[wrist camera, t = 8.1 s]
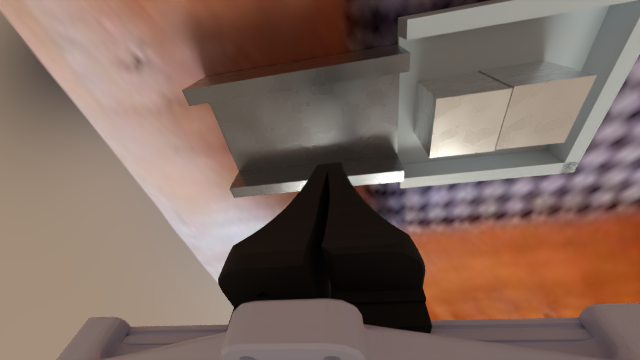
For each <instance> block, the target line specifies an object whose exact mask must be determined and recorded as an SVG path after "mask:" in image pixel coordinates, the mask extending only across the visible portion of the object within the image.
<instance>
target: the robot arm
mask: <svg viewBox="0 0 640 360" xmlns="http://www.w3.org/2000/svg"><path fill="white" fill-rule="evenodd" d="M424 276H425V265H424V262H423V259H422V257H421V255H420V253H419V251H418V249H417V247H416V246H415V244H414V242H413V241H412V239H411V238H410V236H409V235H408V234H407V233H405V232H403V231H402V230H400V229H398V228H397V227H395V226H393V225H392V224H390V223H389V222H388V221H386V220H385V219H384V218H383V217H381V216H380V215H379V214H378V213H377V212H375V211H374V210H373V209H372V208H371V207H370V206H369V205H368V204H367V203H366V202H365V201H364V200H363V198H362V197H361V196H360V195H359V194H358V192H357V191H356V190H355V188H354V187H353V185H352V184H351V182H350V180H349V179H348V177H347V175H346V173H345V171H344V168H343V164H342V163H341V162H338V163H329V164H320V165H317V166H316V167H315V169H314V171H313V172H312V174H311V176H310V177H309V179H308V180H307V182H306V183H305V185H304V186H303V188H302V189H301V190H300V192H299V193H298V194H297V196H296V197H295V198H294V199H293V200H292V202H291V203H290V204H289V205H288V206H287V207H286V208H285V209H284V210H283V211H282V212H281V213H280V214H278V215H277V216H276V217H275V218H274V219H273V220H272V221H270V222H269V223H268V224H266V225H265V226H264V227H262V228H261V229H260V230H258V231H257V232H255V233H254V234H252V235H251V236H249V237H247V238H246V239H244V240H242V241H241V242H239V243H237V244H235V245H234V246H233V247H232V249H231V251H230V253H229V255H228V257H227V259H226V262H225V264H224V266H223V269H222V271H221V273H220V276H219V278H218V284H219V286H220V288H221V290H222V292H223V293H224V294H225V296H226V297H227V298H228V300H229V301H230V302H231V304H232V305H233V306H234V309H233V312H232V315H231V318H230V321H229V324H228V325H192V326H145V327H144V326H142V327H130V325H129V324H128V323H127V322H126V321H125V320H122V319H120V318H117V317H92V318H89V319H88V320H87V321H86V323H85V324H84V325H83V326H82V328H81V329H80V330H79V332H78V333H77V334H76V335H75V337H74V338H73V339H72V341H71V342H70V343H69V344H68V346H67V347H66V348H65V349H64V351H63V352H62V353H61V354H60V356H59V357H58V358H57V360H640V303H613V304H596V305H592V306H589V307H587V308H585V309H584V310H583V311H582V312H581V313H580V315H579V317H578V318H539V319H490V320H440V321H431V320H430V317H429V314H428V310H427V307H426V304H425V302H426V297H425V294H424V290H423V283H424Z"/></svg>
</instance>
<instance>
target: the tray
mask: <svg viewBox="0 0 640 360" xmlns="http://www.w3.org/2000/svg"><path fill="white" fill-rule="evenodd" d="M397 44H398V45H400V46H401V47H403V48H404V49H406V50H407V51H409V52H410V71H409V72H405V73H400V80H399V112H398V143H397V155H398V157H399V159H400V162H401V164H402V167H403V169H404V181H401V182H398V184H399V187H400V188H409V187H420V186H430V185H441V184H452V183H463V182H474V181H484V180H495V179H506V178H517V177H528V176H538V175H549V174H560V173H571V172H574V171H575V169H576V167H577V165H578V164H579V162H580V160H581V158H582V156H583V155H584V153H585V151H586V149H587V147H588V146H589V144H590V142H591V140H592V138H593V137H594V135H595V133H596V131H597V130H598V128H599V126H600V124H601V122H602V121H603V119H604V117H605V115H606V113H607V112H608V110H609V108H610V106H611V104H612V103H613V101H614V99H615V97H616V95H617V94H618V92H619V90H620V88H621V86H622V85H623V83H624V81H625V79H626V77H627V76H628V74H629V72H630V70H631V68H632V67H633V65H634V63H635V61H636V60H637V58H638V56H639V54H640V0H489V1H484V2H478V3H473V4H467V5H462V6H457V7H451V8H446V9H441V10H435V11H430V12H424V13H419V14H414V15H408V16H403V17H398V35H397ZM543 60H545V61H548V62H552V63H555V64H559V65H563V66H566V67H570V68H574V69H577V70H581V71H584V72H588V73H592V74H595V75H597V77H596V79H595V81H594V83H593V85H592V87H591V89H590V91H589V93H588V95H587V97H586V99H585V101H584V103H583V105H582V107H581V109H580V111H579V114H578V116H577V118H576V120H575V122H574V124H573V126H572V128H571V130H570V132H569V134H568V136H567V138H566V140H565V142H564V143H554V144H545V145H536V146H527V147H517V148H508V149H499V150H494V151H491V152H481V153H472V154H463V155H454V156H445V157H436V158H429V156H428V155H427V153H426V152H425V150H424V148H423V147H422V145H421V143H420V142H419V140H418V138H417V137H416V135H415V134H414V122H415V108H416V94H417V81H419V80H426V79H432V78H439V77H446V76H452V75H459V74H465V73H472V72H479V70H483V69H490V68H497V67H503V66H510V65H516V64H523V63H530V62H536V61H543Z"/></svg>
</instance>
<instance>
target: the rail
mask: <svg viewBox="0 0 640 360" xmlns="http://www.w3.org/2000/svg"><path fill="white" fill-rule="evenodd" d="M409 71H410V52H409V51H407V50H406V49H404V48H403V47H401V46H400V45H398V44H394V45H388V46H382V47H376V48H371V49H365V50H359V51H353V52H347V53H341V54H336V55H330V56H324V57H318V58H312V59H306V60H300V61H295V62H289V63H283V64H277V65H271V66H265V67H260V68H254V69H248V70H242V71H236V72H230V73H224V74H219V75H213V76H207V77H204V78H203V79H201V80H199V81H197V82H196V83H194V84H192V85H190V86H189V87H187V88H185V89H183V90H182V92H183V94H184V96H185V98H186V100H187V102H188V104H189V106H191V105H198V104H204V103H210V105H211V108H212V110H213V112H214V114H215V117H216V119H217V121H218V124H219V126H220V128H221V131H222V133H223V135H224V138H225V140H226V142H227V144H228V147H229V149H230V151H231V154H232V156H233V158H234V161H235V163H236V165H237V167H238V170H239V173H238V174H237V176H236V178H235V180H234V182H233V183H232V185H231V187H230V190H231V192H232V194H233V196H234V198H235V197H245V196H256V195H266V194H276V193H287V192H297V191H300V190H301V189H302V188H303V186H304V185H305V183H306V182H307V180H308V179H309V177H310V176H311V174H312V172H313V171H314V169H315V167H316V166H317V165H320V164H329V163H338V162H341V163H342V164H343V168H344V171H345V173H346V175H347V177H348V179H349V180H350V182H351V184H352V185H353V186H360V185H370V184H380V183H391V182H401V181H404V169H403V167H402V164H401V162H400V159H399V157H398V155H397V143H398V112H399V80H400V73H405V72H409Z"/></svg>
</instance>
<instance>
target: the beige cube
mask: <svg viewBox="0 0 640 360" xmlns="http://www.w3.org/2000/svg"><path fill="white" fill-rule="evenodd" d="M479 72H480V73H482V74H484V75H486V76H488V77H490V78H492V79H495V80H497V81H499V82H501V83H503V84H505V85H507V86H509V87H511V88H513V89H512V93H511V96H510V100H509V103H508V106H507V110H506V113H505V116H504V120H503V123H502V126H501V130H500V133H499V136H498V140H497V143H496V146H495V150H499V149H508V148H517V147H527V146H536V145H545V144H554V143H564V142H565V140H566V138H567V136H568V134H569V132H570V130H571V128H572V126H573V124H574V122H575V120H576V118H577V116H578V114H579V111H580V109H581V107H582V105H583V103H584V101H585V99H586V97H587V95H588V93H589V91H590V89H591V87H592V85H593V83H594V81H595V79H596V77H597V75H595V74H592V73H588V72H584V71H581V70H577V69H574V68H570V67H566V66H563V65H559V64H555V63H552V62H548V61H545V60H543V61H536V62H530V63H523V64H516V65H510V66H503V67H497V68H490V69H483V70H479Z"/></svg>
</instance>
